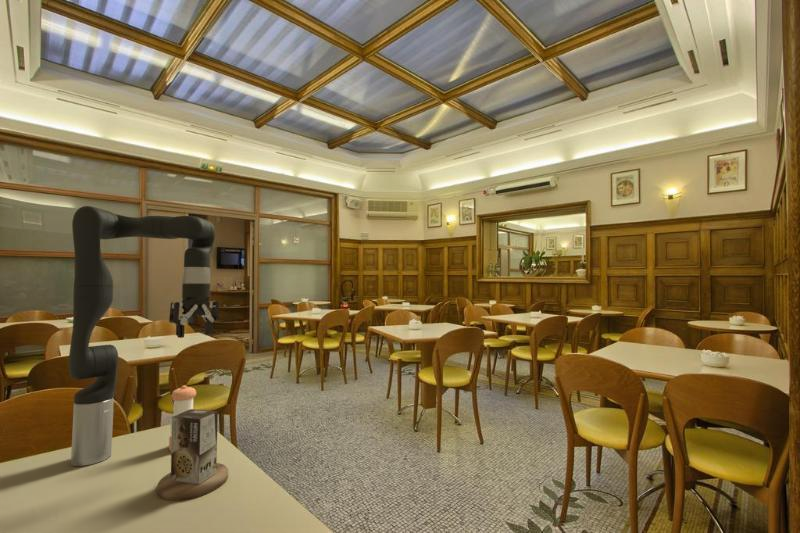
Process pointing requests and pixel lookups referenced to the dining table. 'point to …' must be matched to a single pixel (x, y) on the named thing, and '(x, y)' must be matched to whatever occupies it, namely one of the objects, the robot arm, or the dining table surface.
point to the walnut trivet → (191, 486)
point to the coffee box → (194, 446)
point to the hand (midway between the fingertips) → (194, 336)
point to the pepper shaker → (182, 402)
